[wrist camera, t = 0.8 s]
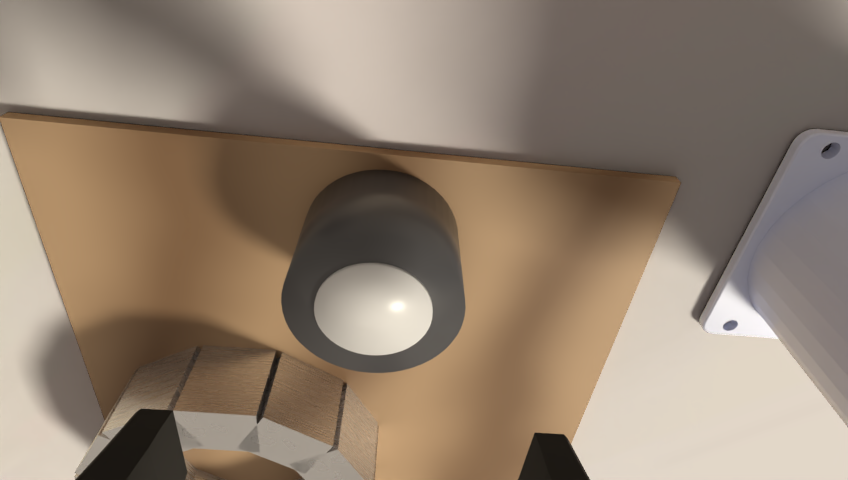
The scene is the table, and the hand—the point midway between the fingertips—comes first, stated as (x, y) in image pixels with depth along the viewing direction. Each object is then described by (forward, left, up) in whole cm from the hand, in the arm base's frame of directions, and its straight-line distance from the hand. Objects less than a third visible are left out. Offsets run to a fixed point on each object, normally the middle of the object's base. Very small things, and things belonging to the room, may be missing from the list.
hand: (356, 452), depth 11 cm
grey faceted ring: (+5, +11, -8) cm, 14 cm away
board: (+1, +7, -8) cm, 11 cm away
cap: (0, 0, -8) cm, 8 cm away
